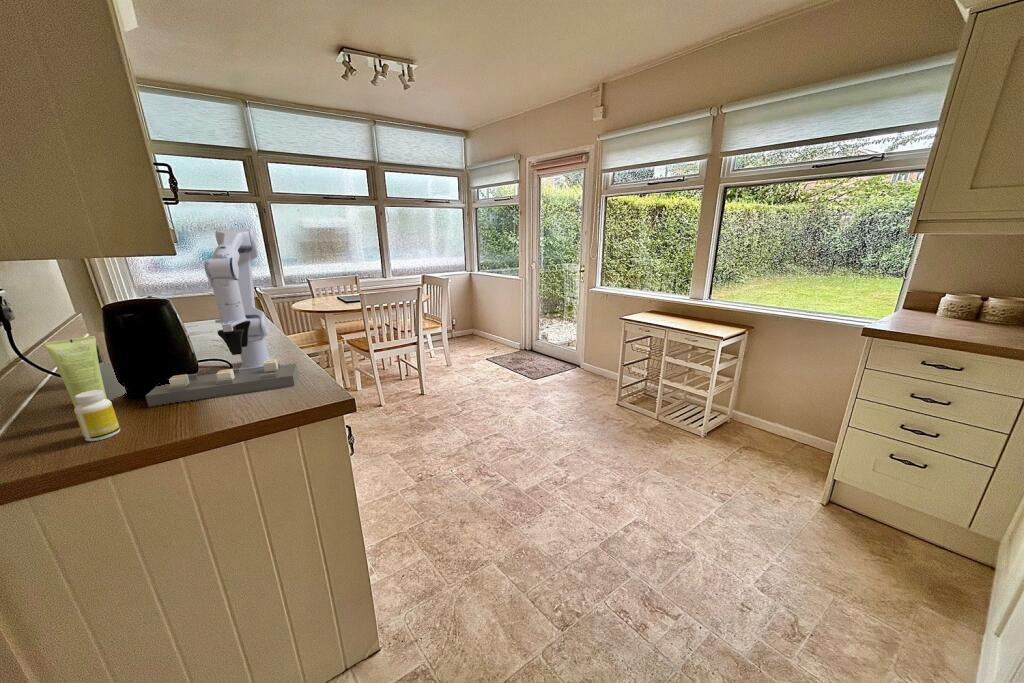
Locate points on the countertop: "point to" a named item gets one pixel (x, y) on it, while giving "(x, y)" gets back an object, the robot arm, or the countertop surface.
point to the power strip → (224, 385)
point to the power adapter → (110, 381)
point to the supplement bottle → (96, 416)
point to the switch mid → (225, 374)
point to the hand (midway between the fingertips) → (240, 350)
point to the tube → (77, 365)
